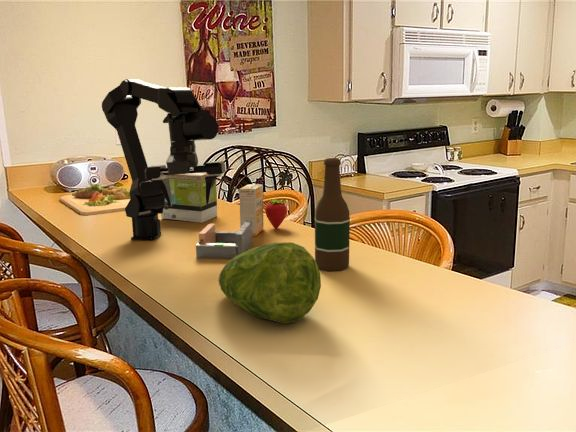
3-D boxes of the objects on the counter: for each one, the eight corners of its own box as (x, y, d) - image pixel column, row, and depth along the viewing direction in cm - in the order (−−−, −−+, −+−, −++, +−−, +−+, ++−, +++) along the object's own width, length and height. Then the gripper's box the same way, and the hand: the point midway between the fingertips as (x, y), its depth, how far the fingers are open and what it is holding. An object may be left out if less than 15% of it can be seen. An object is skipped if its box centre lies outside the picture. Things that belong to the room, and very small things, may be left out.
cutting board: (153, 208, 189) (151, 187, 188) (83, 217, 176) (81, 194, 175) (120, 194, 218) (119, 175, 216) (58, 201, 205) (56, 181, 203)
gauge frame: (196, 258, 129) (195, 233, 128) (211, 242, 143) (210, 220, 141) (242, 259, 128) (241, 234, 127) (252, 243, 142) (252, 220, 140)
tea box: (160, 219, 170) (156, 172, 167) (178, 213, 179) (175, 168, 176) (202, 223, 164) (199, 174, 161) (218, 216, 173) (216, 170, 170)
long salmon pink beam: (196, 256, 129) (195, 236, 127) (210, 242, 141) (209, 223, 140) (203, 256, 128) (202, 236, 127) (215, 242, 141) (215, 223, 139)
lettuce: (255, 307, 110) (253, 241, 111) (335, 319, 92) (332, 240, 92) (192, 316, 102) (190, 244, 102) (267, 331, 83) (264, 244, 84)
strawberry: (279, 224, 161) (278, 191, 159) (291, 229, 155) (291, 195, 153) (261, 227, 159) (260, 193, 156) (272, 232, 152) (272, 197, 150)
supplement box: (257, 236, 148) (255, 188, 145) (240, 236, 149) (238, 188, 146) (264, 229, 156) (263, 183, 153) (248, 228, 157) (246, 183, 154)
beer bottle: (326, 274, 117) (326, 161, 111) (308, 264, 123) (307, 158, 118) (356, 268, 120) (358, 159, 115) (337, 259, 127) (337, 155, 122)
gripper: (133, 145, 124) (141, 213, 127) (214, 139, 123) (221, 207, 126) (148, 143, 135) (155, 205, 138) (223, 137, 134) (228, 200, 137)
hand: (189, 205), depth 134 cm, fingers open, 9 cm apart
